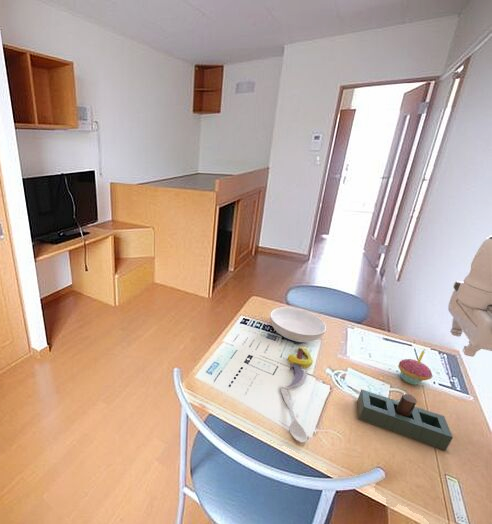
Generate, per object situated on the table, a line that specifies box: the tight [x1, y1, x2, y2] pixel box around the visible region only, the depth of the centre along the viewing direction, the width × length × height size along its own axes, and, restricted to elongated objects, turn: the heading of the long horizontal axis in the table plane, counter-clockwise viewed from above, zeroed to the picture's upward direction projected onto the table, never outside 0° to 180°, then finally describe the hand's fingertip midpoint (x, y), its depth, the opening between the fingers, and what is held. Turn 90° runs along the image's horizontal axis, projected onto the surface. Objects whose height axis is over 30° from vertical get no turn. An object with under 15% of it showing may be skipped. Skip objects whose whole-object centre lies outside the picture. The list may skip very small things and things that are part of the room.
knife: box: [286, 345, 314, 388], centre depth 107 cm, size 8×3×25 cm
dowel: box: [395, 393, 418, 418], centre depth 86 cm, size 3×3×10 cm
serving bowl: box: [269, 306, 327, 343], centre depth 126 cm, size 21×21×7 cm
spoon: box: [280, 387, 308, 444], centre depth 90 cm, size 4×21×2 cm, turn 169°
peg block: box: [356, 389, 454, 451], centre depth 87 cm, size 19×8×5 cm, turn 60°
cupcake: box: [397, 348, 433, 386], centre depth 101 cm, size 9×8×12 cm
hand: (460, 344), depth 79 cm, fingers open, 8 cm apart
